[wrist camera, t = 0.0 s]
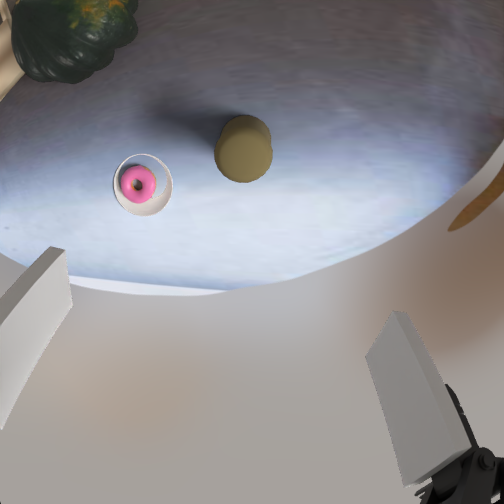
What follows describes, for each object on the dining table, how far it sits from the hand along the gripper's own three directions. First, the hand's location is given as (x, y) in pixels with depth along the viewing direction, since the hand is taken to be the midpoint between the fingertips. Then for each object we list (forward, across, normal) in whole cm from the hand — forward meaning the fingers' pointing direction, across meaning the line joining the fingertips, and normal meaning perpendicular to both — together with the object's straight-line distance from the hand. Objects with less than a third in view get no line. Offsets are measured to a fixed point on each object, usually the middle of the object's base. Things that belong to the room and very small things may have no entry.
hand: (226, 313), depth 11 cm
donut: (+29, -11, -7) cm, 32 cm away
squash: (+28, -22, +14) cm, 39 cm away
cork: (+28, 0, +2) cm, 28 cm away
